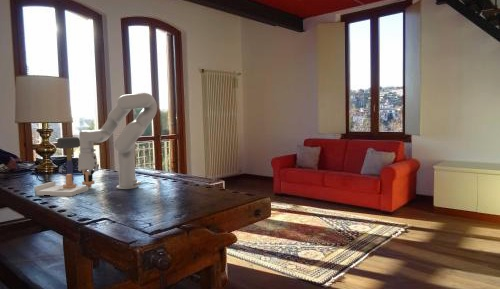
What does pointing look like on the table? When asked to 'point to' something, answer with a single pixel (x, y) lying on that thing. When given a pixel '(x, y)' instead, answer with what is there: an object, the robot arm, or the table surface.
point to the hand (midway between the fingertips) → (88, 180)
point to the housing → (60, 188)
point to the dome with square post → (87, 180)
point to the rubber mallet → (68, 150)
